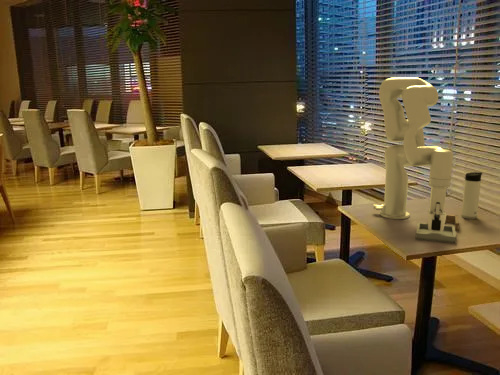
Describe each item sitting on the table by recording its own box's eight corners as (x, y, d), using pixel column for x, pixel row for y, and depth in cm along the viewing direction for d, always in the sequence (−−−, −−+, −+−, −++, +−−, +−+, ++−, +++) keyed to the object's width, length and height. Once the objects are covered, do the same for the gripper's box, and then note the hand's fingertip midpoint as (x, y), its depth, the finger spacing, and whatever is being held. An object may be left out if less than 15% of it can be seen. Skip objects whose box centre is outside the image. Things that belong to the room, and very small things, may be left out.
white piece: (423, 227, 188) (424, 209, 186) (440, 226, 188) (441, 209, 187) (431, 232, 181) (432, 214, 180) (448, 231, 182) (450, 214, 180)
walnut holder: (428, 227, 195) (428, 220, 194) (428, 219, 206) (429, 213, 205) (458, 230, 191) (459, 223, 190) (457, 222, 202) (457, 215, 201)
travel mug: (479, 219, 205) (484, 174, 200) (463, 218, 206) (467, 173, 202) (475, 215, 211) (480, 171, 206) (459, 214, 212) (464, 170, 208)
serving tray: (415, 239, 181) (416, 233, 181) (416, 228, 194) (417, 222, 194) (455, 243, 176) (456, 237, 176) (454, 232, 189) (454, 226, 189)
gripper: (429, 176, 190) (425, 220, 194) (428, 186, 174) (424, 233, 178) (449, 178, 187) (445, 222, 191) (451, 187, 171) (446, 235, 176)
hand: (435, 227), depth 185 cm, fingers closed on white piece, 5 cm apart
